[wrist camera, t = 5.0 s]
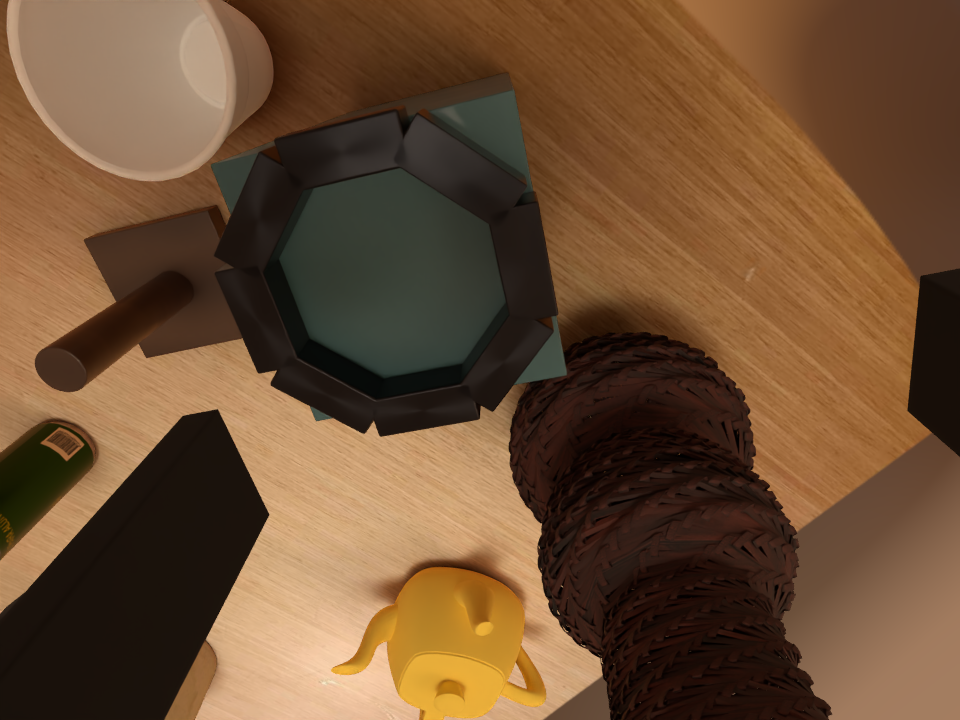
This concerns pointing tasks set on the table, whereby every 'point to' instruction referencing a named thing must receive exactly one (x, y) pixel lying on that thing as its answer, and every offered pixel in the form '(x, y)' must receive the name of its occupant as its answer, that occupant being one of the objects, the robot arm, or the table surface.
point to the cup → (140, 78)
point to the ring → (450, 171)
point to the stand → (404, 250)
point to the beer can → (39, 476)
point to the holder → (147, 298)
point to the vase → (661, 533)
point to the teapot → (452, 645)
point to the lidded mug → (194, 686)
